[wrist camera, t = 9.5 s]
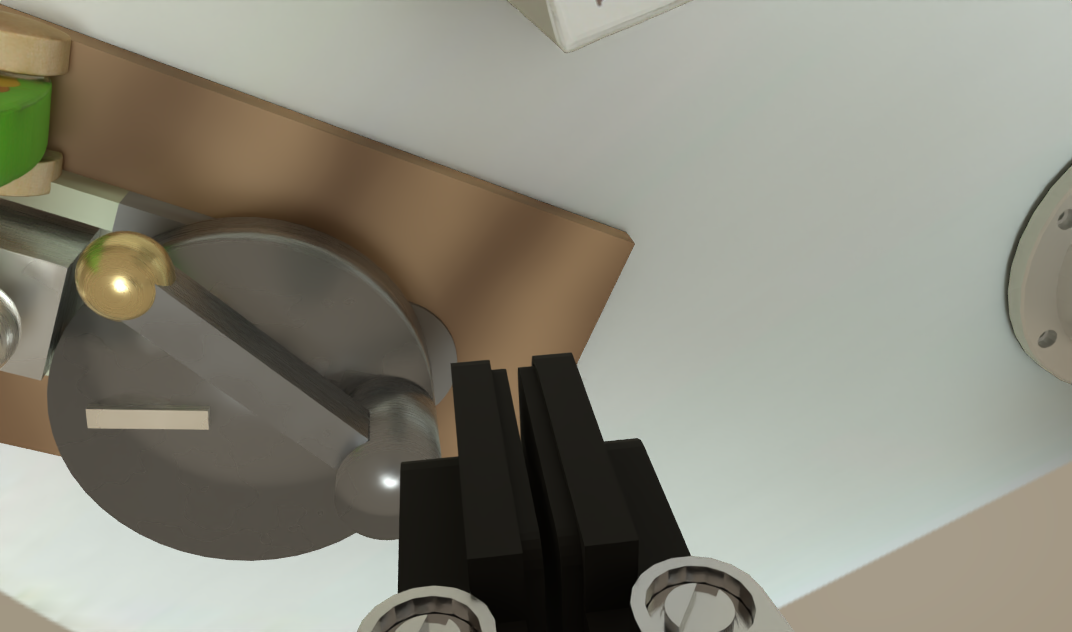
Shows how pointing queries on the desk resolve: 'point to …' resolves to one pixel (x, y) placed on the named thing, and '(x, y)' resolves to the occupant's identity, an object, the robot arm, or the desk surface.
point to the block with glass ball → (37, 284)
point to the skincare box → (589, 17)
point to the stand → (318, 215)
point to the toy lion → (28, 103)
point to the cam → (241, 388)
